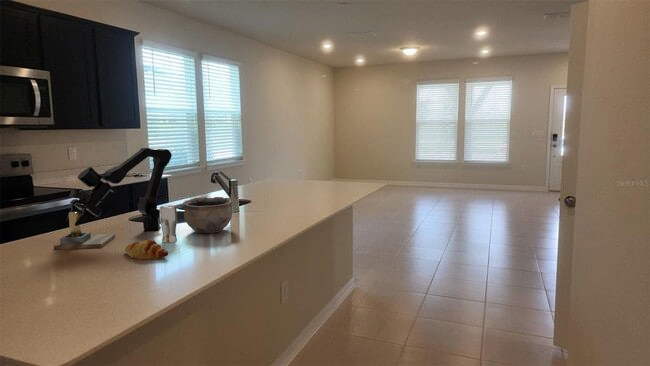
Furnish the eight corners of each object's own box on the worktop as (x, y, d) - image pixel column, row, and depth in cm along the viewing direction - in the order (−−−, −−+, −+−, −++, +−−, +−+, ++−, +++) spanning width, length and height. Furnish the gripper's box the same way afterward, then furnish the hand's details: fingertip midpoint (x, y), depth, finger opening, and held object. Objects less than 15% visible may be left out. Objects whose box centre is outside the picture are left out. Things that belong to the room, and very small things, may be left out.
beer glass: (180, 239, 182) (179, 205, 180) (173, 243, 175) (172, 208, 173) (165, 238, 182) (164, 205, 180) (157, 243, 175) (156, 208, 173)
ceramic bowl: (239, 227, 204) (238, 197, 202) (224, 238, 183) (223, 205, 181) (195, 225, 206) (194, 196, 204) (175, 237, 185) (174, 204, 183)
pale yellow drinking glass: (84, 240, 173) (82, 212, 172) (75, 242, 170) (73, 213, 168) (76, 239, 175) (75, 211, 173) (68, 241, 171) (66, 213, 169)
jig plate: (115, 237, 184) (114, 228, 184) (102, 247, 168) (101, 237, 168) (71, 238, 181) (70, 229, 181) (53, 249, 165) (53, 239, 165)
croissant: (120, 263, 160) (110, 248, 155) (137, 245, 167) (128, 230, 163) (163, 269, 152) (154, 253, 147) (179, 250, 159) (171, 235, 155)
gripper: (73, 180, 178) (46, 209, 171) (91, 184, 166) (62, 215, 159) (94, 196, 185) (68, 224, 178) (113, 200, 173) (86, 231, 166)
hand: (71, 223), depth 170 cm, fingers open, 9 cm apart
